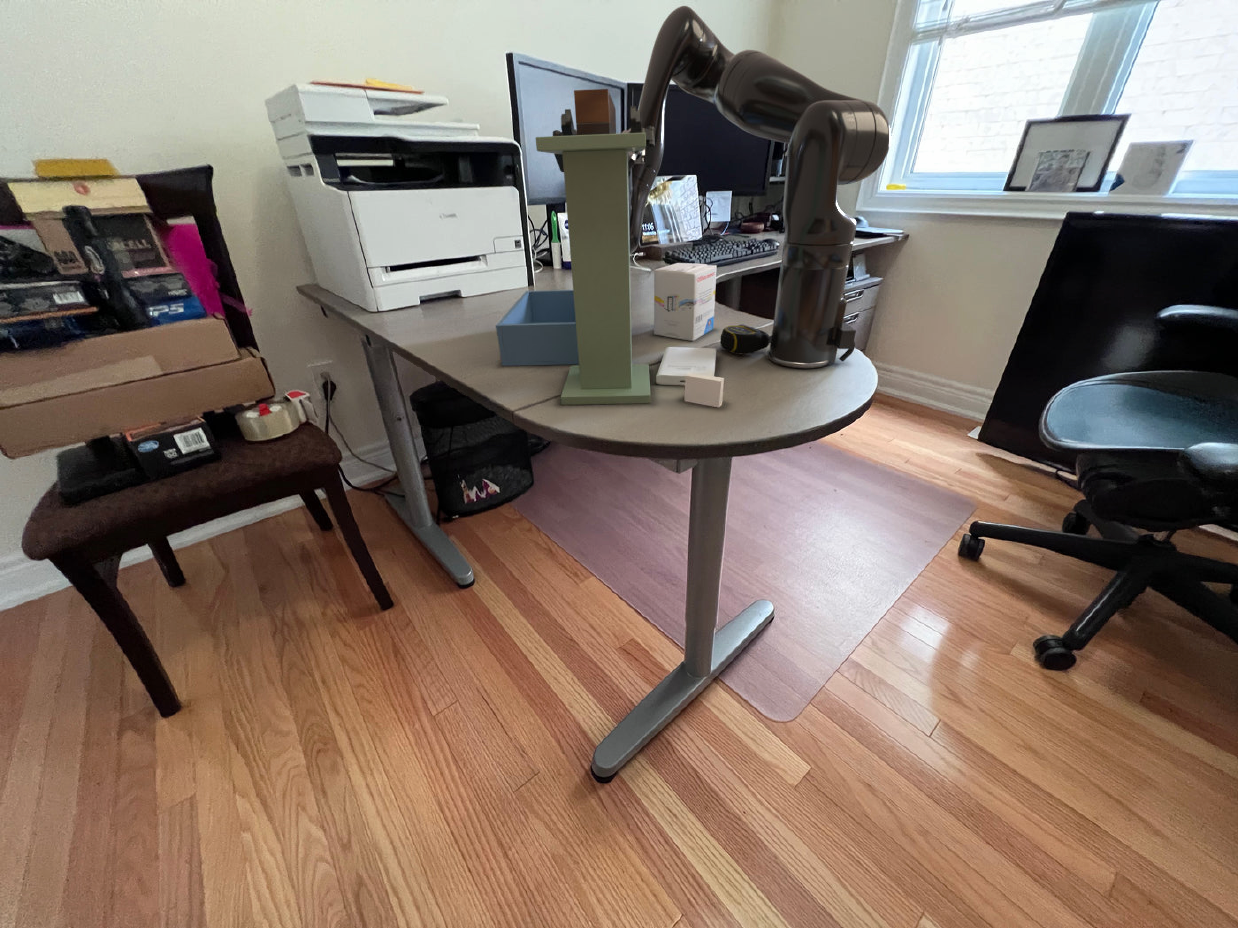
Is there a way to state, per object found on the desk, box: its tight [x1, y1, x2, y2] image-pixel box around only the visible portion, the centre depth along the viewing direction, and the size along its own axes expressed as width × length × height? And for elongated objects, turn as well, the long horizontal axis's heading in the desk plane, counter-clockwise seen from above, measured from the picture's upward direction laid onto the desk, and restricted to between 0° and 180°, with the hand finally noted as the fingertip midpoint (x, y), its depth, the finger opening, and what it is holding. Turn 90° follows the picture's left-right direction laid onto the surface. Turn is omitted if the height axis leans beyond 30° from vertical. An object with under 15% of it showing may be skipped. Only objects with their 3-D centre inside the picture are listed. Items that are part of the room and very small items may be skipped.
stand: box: [535, 132, 651, 406], centre depth 63 cm, size 12×16×30 cm
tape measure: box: [719, 324, 770, 356], centre depth 81 cm, size 7×7×4 cm
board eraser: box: [573, 88, 617, 135], centre depth 59 cm, size 4×20×4 cm, turn 178°
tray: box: [495, 289, 579, 367], centre depth 88 cm, size 14×25×7 cm, turn 178°
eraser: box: [683, 373, 725, 409], centre depth 64 cm, size 1×5×4 cm, turn 61°
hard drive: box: [655, 346, 717, 387], centre depth 75 cm, size 2×8×12 cm
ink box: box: [653, 262, 717, 342], centre depth 89 cm, size 9×8×12 cm
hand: (600, 114), depth 63 cm, fingers open, 8 cm apart
